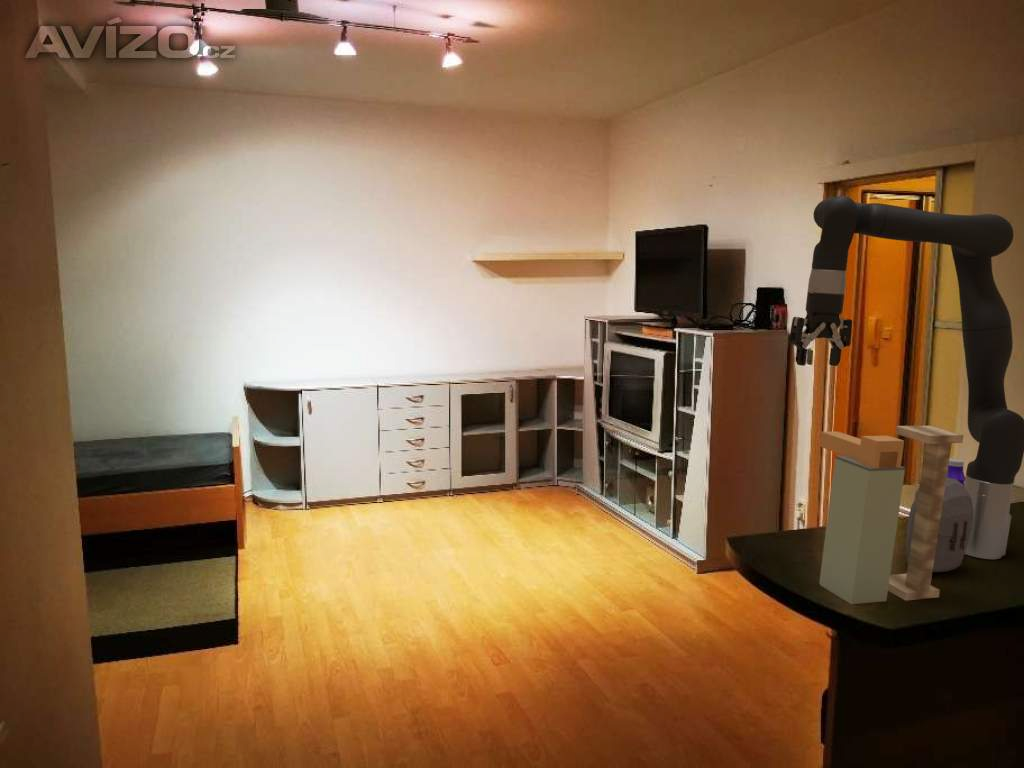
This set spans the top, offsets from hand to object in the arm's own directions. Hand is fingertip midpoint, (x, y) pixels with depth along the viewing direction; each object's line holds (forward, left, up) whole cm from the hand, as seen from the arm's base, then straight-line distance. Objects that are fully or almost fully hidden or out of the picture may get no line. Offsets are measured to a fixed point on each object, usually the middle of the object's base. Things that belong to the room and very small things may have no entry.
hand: (817, 365), depth 173 cm
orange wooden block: (+8, +24, -14) cm, 29 cm away
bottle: (-44, -1, -40) cm, 60 cm away
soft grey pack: (-19, +21, -40) cm, 49 cm away
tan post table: (-4, +29, -40) cm, 49 cm away
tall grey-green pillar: (+8, +28, -40) cm, 49 cm away
